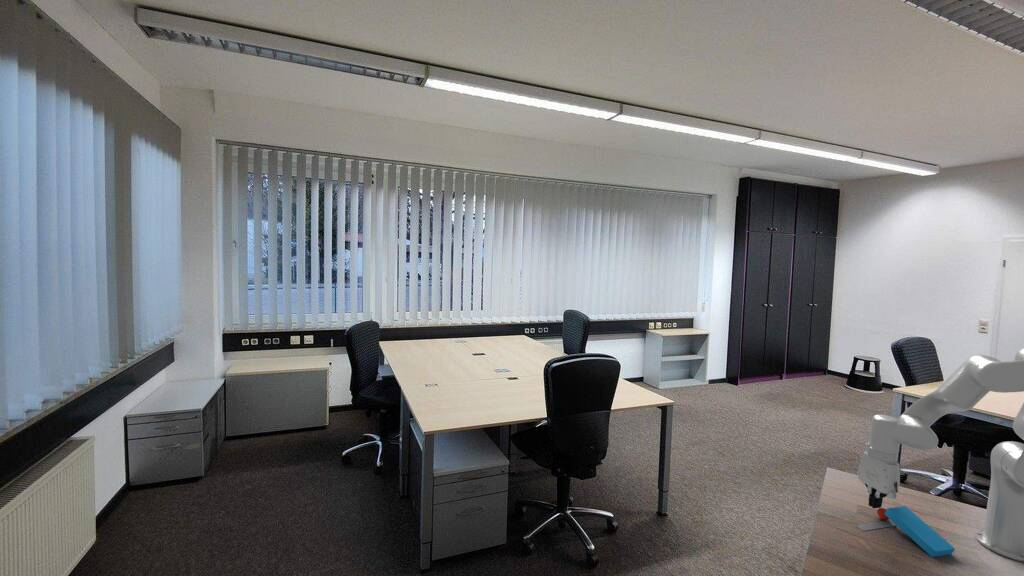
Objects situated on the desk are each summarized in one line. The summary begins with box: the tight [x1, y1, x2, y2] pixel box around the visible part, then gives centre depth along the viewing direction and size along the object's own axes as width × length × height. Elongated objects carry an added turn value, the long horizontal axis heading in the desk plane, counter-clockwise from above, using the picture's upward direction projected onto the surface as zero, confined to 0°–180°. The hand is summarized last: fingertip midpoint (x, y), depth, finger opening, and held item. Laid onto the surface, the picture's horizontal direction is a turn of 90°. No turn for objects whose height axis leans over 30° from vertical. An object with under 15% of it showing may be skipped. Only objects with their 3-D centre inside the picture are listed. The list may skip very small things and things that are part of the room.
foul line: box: [855, 519, 898, 532], centre depth 137 cm, size 23×2×1 cm, turn 102°
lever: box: [876, 506, 956, 558], centre depth 132 cm, size 7×7×18 cm
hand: (874, 506), depth 141 cm, fingers closed
